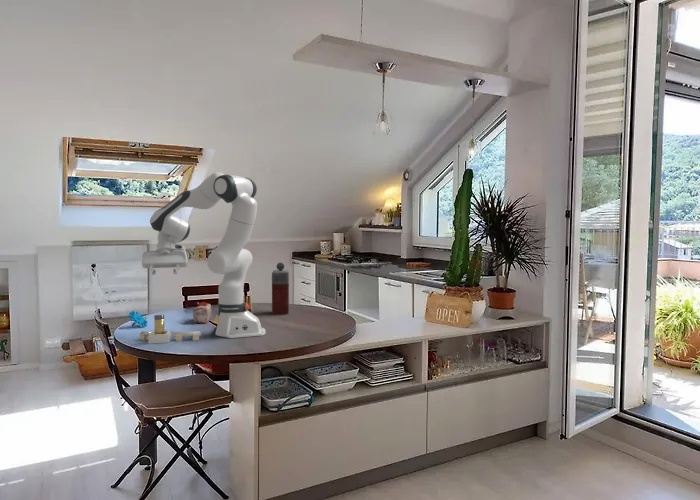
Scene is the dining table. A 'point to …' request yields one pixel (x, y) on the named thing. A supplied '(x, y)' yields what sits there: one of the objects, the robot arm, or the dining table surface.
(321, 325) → the dining table surface
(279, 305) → the red grey bottle
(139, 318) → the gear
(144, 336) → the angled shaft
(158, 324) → the yellow jar
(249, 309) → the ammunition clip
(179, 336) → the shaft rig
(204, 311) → the food item
